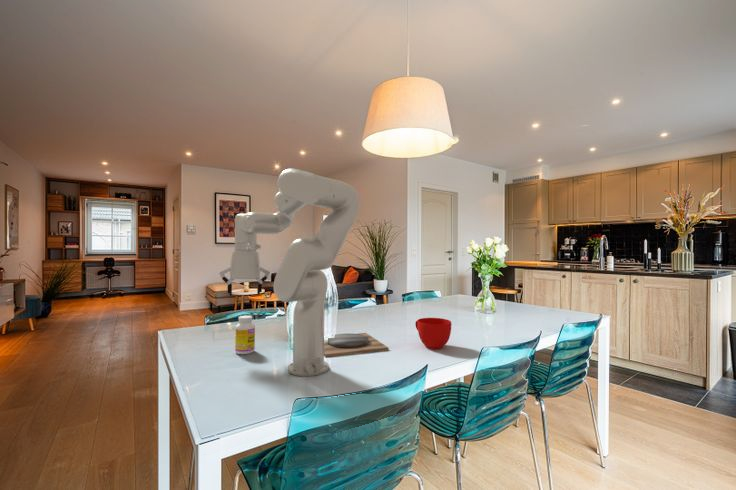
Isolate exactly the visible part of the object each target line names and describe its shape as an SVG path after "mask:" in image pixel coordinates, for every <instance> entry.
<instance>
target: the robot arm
mask: <svg viewBox="0 0 736 490" xmlns="http://www.w3.org/2000/svg"><path fill="white" fill-rule="evenodd" d="M277 189H278V192H277V193H276V194H275V195H274V199H273V200H274V205H275V207H276V209H277V210H278V211H277V212H275V213H267V212H256V211H252V212H251V211H250V212H247V213H238V214H236V215H235V218H234V251H232V252H231V257H230V266H229V267H227V268H225V269H223V270H221V271H219V276H220V278H221V279H222V281H223V282H225V284H227V294H229V296H232V295H233V291H232V290H233V284H232V282H233V281H235V280H256V281H257V295H259V296H260V295H261V293H262V292H263V291H262V289H263V287H262V286H263V283H264V282H265V281H266V280H267V279H268V277H269V276H270V273H271V272H270V271H269V270H268V269H265V268H263V267H261V266H260V254H259V251H257V250H259V249H261V248H262V247H261V245H260V244H257V237H258V236H257V235H278V234H280V233H281V232H283V231H284V230H286V229H287V228H289V227H290V226H291V224H293V221H294V218H295V213H297V212H298V211H299V210H301V209H303V207H305V206H307V205H309V206H314V207H318V208H326V209H332V210H331V212H330V213H329V214H328V215H327V216H325V218H324V219H323V220H322V222H321V223H320V225H319V228H318V230H317V232H316V234H314V236H313V237H300V238H298V239H295V240H294V241H292V243H290V244H289V246H288V247H287V249H286V251H285V253H284V256H283V258H282V260H281V262H280V265H279V267H278V270H277V272H276V274H275V276H274V281H273V293H274V295H275V297H276V298H277V299H278V300H279V301H281V302H283V303H293V302H295V306H294V309H293V315H292V316H293V318H292V319H293V320H292V323H293V324H292V325H293V327H292V330H293V331H292V336H293V337H292V341H293V342H292V362H291V363H289V365H288V366H287V372H288V373H289V374H291V375H293V376H298V377H299V376H300V377H313V376H317V375H321V374H324V373H326V372H328V370H329V368H330V367H329V366H330V365H329V363H328V362H327V361H325V356H324V336H325V305H326V303H325V302H326V297H327V292H328V286H329V285H328V278H327V276H326V274H325V273H324V272H323V271H324V270H327V269H329V268H331V267H332V266H333V265H334V264H335V262H336V260H337V258H338V256H339V253H340V252H341V250H342V247H343V245H344V243H346V238H347V237H348V234H349V233H350V231H351V229H352V227H353V226H354V224H355V223H356V222H357V221H356V220H357V218H358V216H359V213H360V208H361V202H360V197H359V193H358V192H357V190H356V189H355V188H354V186H352V185H351V184H349V183H347V182H344V181H341V180H339V179H334V178H329V177H326V176H322V175H317V174H315V173H312V172H310V171H306V170H302V169H297V168H294V167H293V168H292V167H289V168H287V169H284V170H283V171H282V172H281V173H280V174H279V176H278V179H277ZM261 272H262V273H263V274H264V276H262V278H261V277H260V273H261ZM227 273H229V275H230V277H229V278H228V277H226V275H225V274H227Z"/></svg>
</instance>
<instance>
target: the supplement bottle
mask: <svg viewBox="0 0 736 490" xmlns="http://www.w3.org/2000/svg"><path fill="white" fill-rule="evenodd" d="M252 321H253V316H252V315H240V316H239V317H238V323H237V324H236V325H235V341H234V342H235V345H234V346H235V347H234V348H235V349H234V351H235V354H238V355H249V354H252V353H254V352H255V347H256V345H255V341H256V339H255V338H256V337H255V336H256V325H255V324H254V323H253V322H252Z"/></svg>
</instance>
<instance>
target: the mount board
mask: <svg viewBox="0 0 736 490" xmlns="http://www.w3.org/2000/svg"><path fill="white" fill-rule="evenodd" d="M334 335H335V337H334V338H328V342H325V343H324V358H332V357H340V356H350V355H357V354H368V353H377V352H385V351H389V349H390V348H389V347H388V346H387V345H386V344H384V343H383V342H380V341H379V340H378V339H376V338H375V337H373V336H371V335H370V334H368V333H367V332H359V333H339V334H334Z"/></svg>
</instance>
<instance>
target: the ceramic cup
mask: <svg viewBox="0 0 736 490" xmlns="http://www.w3.org/2000/svg"><path fill="white" fill-rule="evenodd" d="M414 323H415V328H416V330H417V333H418V337H419V339H420V341H421V342H422V344H423V345H424V346H425V348H427V349H430V350H441V349H443V348H444V347H445V346H446V345H447V343H448V341H449V339H450V337H451V333H452V321H451V320H449V319H446V318H441V317H422V318H418V319H417V320H416V321H415V322H414Z"/></svg>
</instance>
